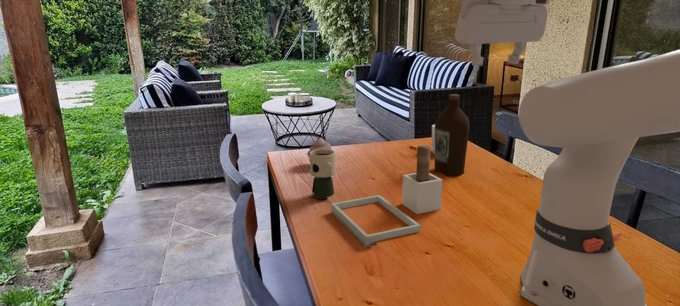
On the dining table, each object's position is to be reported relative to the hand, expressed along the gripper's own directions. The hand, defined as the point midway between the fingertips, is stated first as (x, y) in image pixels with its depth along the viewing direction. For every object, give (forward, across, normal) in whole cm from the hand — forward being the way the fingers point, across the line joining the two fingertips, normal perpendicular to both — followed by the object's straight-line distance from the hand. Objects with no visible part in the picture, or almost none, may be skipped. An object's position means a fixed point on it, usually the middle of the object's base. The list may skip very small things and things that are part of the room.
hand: (495, 64), depth 94 cm
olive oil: (+43, +20, +35) cm, 59 cm away
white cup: (+44, +30, +53) cm, 75 cm away
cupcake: (+45, -16, +57) cm, 74 cm away
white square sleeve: (+40, -5, +13) cm, 43 cm away
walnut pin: (+39, -5, +13) cm, 42 cm away
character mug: (+42, -25, +32) cm, 59 cm away
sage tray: (+40, -20, +11) cm, 46 cm away
